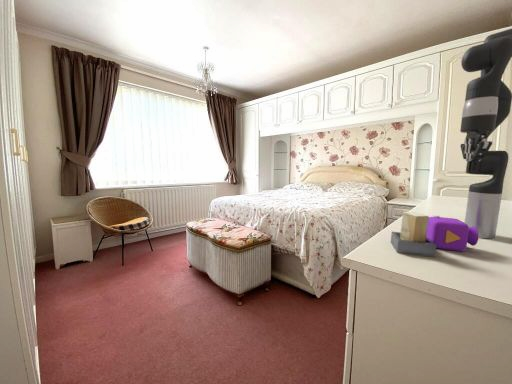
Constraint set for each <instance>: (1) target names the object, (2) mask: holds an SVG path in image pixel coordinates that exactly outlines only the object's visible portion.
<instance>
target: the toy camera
mask: <svg viewBox="0 0 512 384" xmlns="http://www.w3.org/2000/svg"><path fill="white" fill-rule="evenodd" d="M426 236H427V237H428V238H429V239H430V240H431V241H433V242H434V243H435V244H436V249H441V250H449V251H456V252H458V251H459V252H464V251H465V250H466V249H467V247H468V246H467V245H468V244H469V245H471V246H473V247H474V246H476V245H477V244H478V241H479V238H480V237H479V235H478V230H477V228H476V227H475V226H471V227H468V225H467V224H466V223H465V221H464V222H463V221H462V220H460V219H458V218H453V217H443V216H441V217H440V215H435V214H434V215H432V216H429V220H428V227H427V234H426Z"/></svg>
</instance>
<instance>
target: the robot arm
mask: <svg viewBox="0 0 512 384" xmlns="http://www.w3.org/2000/svg"><path fill="white" fill-rule="evenodd" d="M511 59H512V28H507V29H505V30H503V31H499V32H496V33H495V32H494V33H493V34H490V35H487V36H486V38H485V39H484V41H483V43H480V44H477V45H473V46H471V47H469V48H468V49H467V50H465V52H464V54H463V55H462V57H461V67H462V69H463V71H465V72H466V73H474V72H479V71H480V77H477V78H474V79H472V80H470V81H469V82H468V83H467V85H466V90H465V91H466V92H465V99H464V103H463V104H464V105H463V108H462V114H461V122H460V131H459V132H461V133H462V134H466V136H465V139H464V142H463V143H461V144H460V150H461V155H462V157H463V158H462V159H463V160H465V161H466V167H465V168H466V169H465V173H466V175H467V174H468V175H478V176H479V175H480V176H482V175H483V176H492V177H491V178H490V179H487V180H485V181H481V182H475V183H471V184H470V185H469V187H468V193H467V194H468V195H467V201H466V202H467V203H466V209H465V210H466V211H465V218H464V223H466V224H467V225H468V227H471V226H475V227H476V228H477V230H478V235H479V237H478V238H481V239H495V238H496V234H497V229H498V228H497V227H498V223H499V221H498V220H499V215H500V210H501V209H500V208H501V202H502V196H503V189H504V182H505V177H506V173H507V168H508V165H509V153H508V152H507V151H506V150H490V149H491V147H492V145H493V141H489V140H488V138H489V137H490V136H491V134H492V133H493V132H494V131H495V130H497V128H498V127H499V126H500V125H502V124H503V123H504V121H506V119H507V118H508V117H509V115H510V113H511V108H512V106H511V105H512V91H511V89H510V88H509V87H508V86H507V85H506V84H505V83H504V81H503V80H502V78H503V75H504V73H505V71H506V69H507V66H508V64H509V63H510V61H511Z"/></svg>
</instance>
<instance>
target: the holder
mask: <svg viewBox="0 0 512 384" xmlns="http://www.w3.org/2000/svg"><path fill="white" fill-rule="evenodd" d="M400 234H401V231H400V232H399V231H391V235H390V244H391V245H392V247H393V249H394V250H395V252H396V253H399V254H405V255H413V256H421V257H429V258H436V254H437V253H436V250H437V248H436V244H435V243H434V242H433V241H431V240H430V239H429V238H428V237H427V236H426V241H425V243H424V242H415V241H406V240H401V239H400Z"/></svg>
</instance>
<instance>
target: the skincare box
mask: <svg viewBox="0 0 512 384" xmlns="http://www.w3.org/2000/svg"><path fill="white" fill-rule="evenodd" d="M429 217H430V216H429V215H425V214H424V213H419V212H416V211H403V212H402V219H401V227H400V232H401V234H400V239H401V240H406V241H415V242H424V243H425V241H426V234H427V227H428V220H429Z"/></svg>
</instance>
